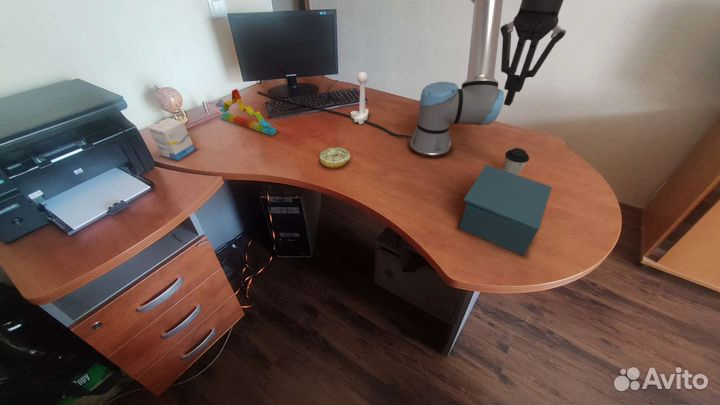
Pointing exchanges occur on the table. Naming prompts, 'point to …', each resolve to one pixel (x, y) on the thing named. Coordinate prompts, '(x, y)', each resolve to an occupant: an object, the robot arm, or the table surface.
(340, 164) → the decorated donut
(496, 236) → the dark teal hollow box
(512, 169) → the coffee cup
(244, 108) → the colourful triangular block frame
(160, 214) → the table surface
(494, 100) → the robot arm
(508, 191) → the lid
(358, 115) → the joystick
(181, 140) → the ink box
